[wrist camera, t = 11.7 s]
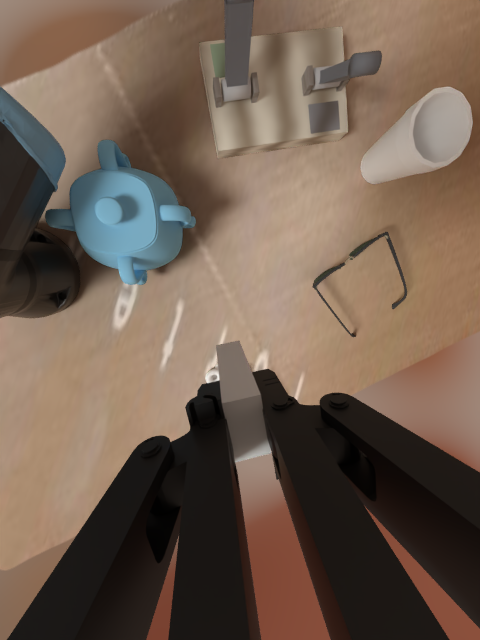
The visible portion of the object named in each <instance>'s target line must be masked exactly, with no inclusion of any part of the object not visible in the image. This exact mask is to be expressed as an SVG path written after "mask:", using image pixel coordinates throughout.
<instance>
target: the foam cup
mask: <svg viewBox="0 0 480 640" xmlns="http://www.w3.org/2000/svg"><path fill="white" fill-rule="evenodd" d="M472 125H473V120H472V113H471V106H470V104H469V103H468V101H467V100H466V98H465V96H464V95H463V93H462V92H460V91H458V90H456V89H454V88H452V87H449V86H448V87H442V88H435V89H433V90H432V91H431V92H429V93H428V94H427V95H425V96H424V97H423V98H421V99H420V100H419V101H418V102H416V103H415V104H414V105H412V106H411V107H410V108H409V109H407V110H406V112H405V114H404V115H403V116H402V117H401V118H400V119H399V120H398V121H397V122H396V123H395V124H394V125H393V126H392V127H391V128H390V129H389V130H388V131H387V132H386V133H385V134H384V135H383V136H382V137H381V138H380V139H379V140H378V141H377V142H376V143H375V144H374V145H373V146H372V147H371V148H369V149H368V150H367V152H366V153H365V154H364V156H363V158H362V160H361V168H360V169H361V173H362V176H363V178H364V179H365V180H366V181H367V182H368V183H371V184H379V183H384V182H387V181H391V180H395V179H399V178H403V177H407V176H411V175H415V174H421V173H427V172H432V171H435V170H437V169H440V168H442V167H445V166H447V165H449V164H450V163H451V162H452V161H454V160H455V159H456V158H458V157H459V156H460V155H461V153H462V152H463V150H464V148H465V147H466V145H467V143H468V142H469V139H470V134H471V130H472Z"/></svg>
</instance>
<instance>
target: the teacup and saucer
mask: <svg viewBox="0 0 480 640" xmlns="http://www.w3.org/2000/svg"><path fill="white" fill-rule="evenodd" d="M216 377H217V378H216ZM215 381H219V369H218V364H217V365H216V366H215V367H214V369H211V370H209V371H208V372H207V374H206V382H207V383H211V382H215Z"/></svg>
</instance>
